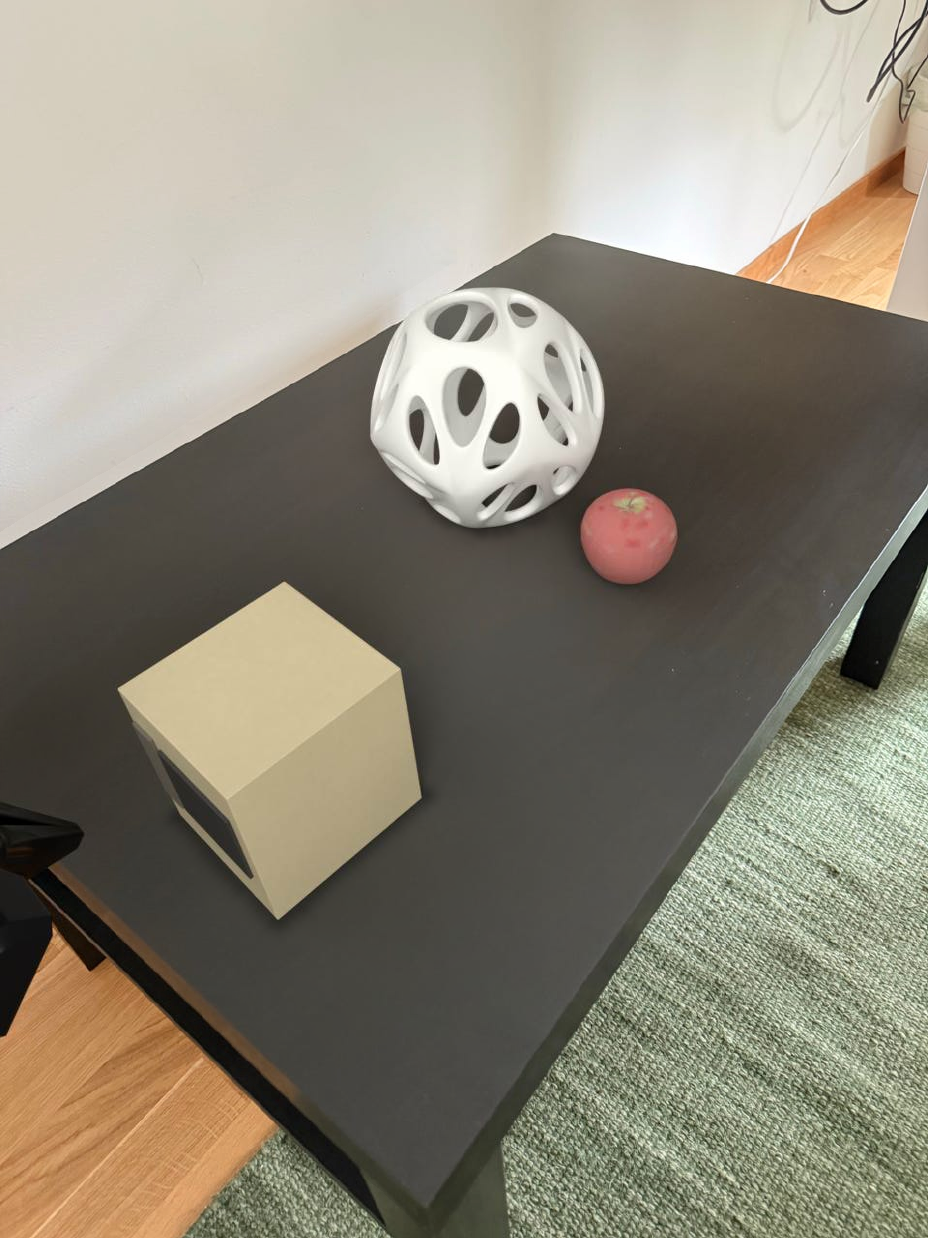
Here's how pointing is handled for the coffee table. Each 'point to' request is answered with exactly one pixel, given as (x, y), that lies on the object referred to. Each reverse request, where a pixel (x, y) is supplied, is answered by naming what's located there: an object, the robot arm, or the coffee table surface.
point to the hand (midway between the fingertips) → (78, 836)
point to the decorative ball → (488, 407)
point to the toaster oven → (279, 742)
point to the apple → (628, 535)
